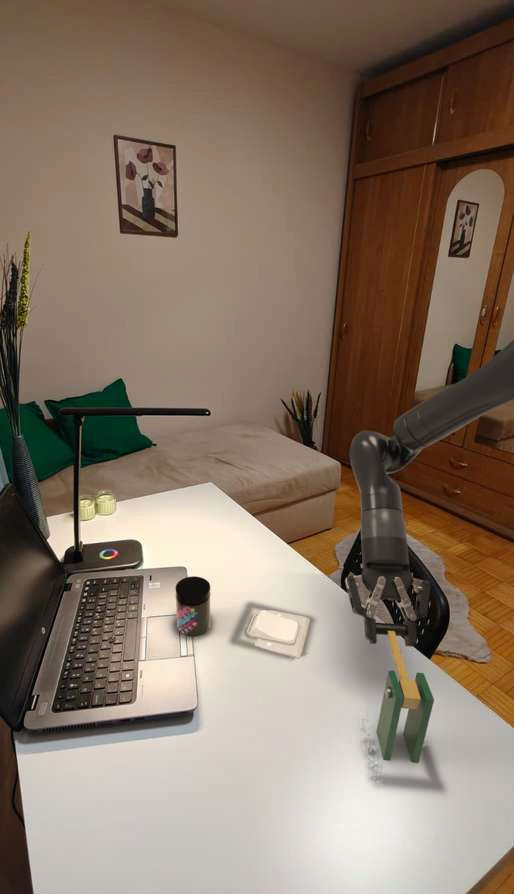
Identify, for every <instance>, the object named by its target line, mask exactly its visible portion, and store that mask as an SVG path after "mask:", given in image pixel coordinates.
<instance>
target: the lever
mask: <svg viewBox="0 0 514 894" xmlns="http://www.w3.org/2000/svg"><path fill="white" fill-rule="evenodd" d="M376 635H380V636H381V635H382V636H386V638H387V641H388V644H389V648H390V652H391V655H392V659H393V662H394V665H395V670H396V673H397V678H398V682H399V685H400V688H401V691H402V694H403V697H404V698H403V702H402V707H401V709H418V706H419V703H420V700H421V698H420V694H419V691H418V688H417V685H416V681H415V679H410V678H409V675H408V671H407V668H406V665H405V660H404V658H403V654H402V651H401V647H400V644H399V641H398V637H404V636H407V627H406V625H405V624H403V623H389V622H376Z"/></svg>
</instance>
